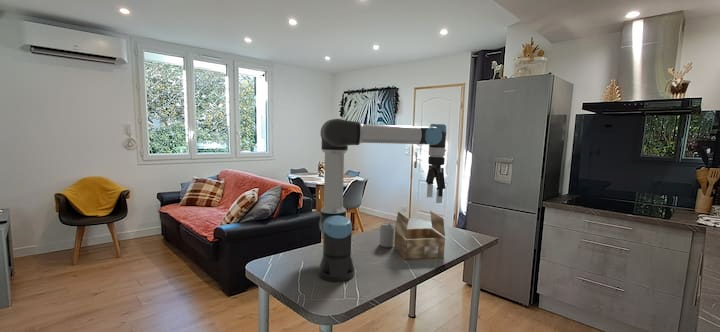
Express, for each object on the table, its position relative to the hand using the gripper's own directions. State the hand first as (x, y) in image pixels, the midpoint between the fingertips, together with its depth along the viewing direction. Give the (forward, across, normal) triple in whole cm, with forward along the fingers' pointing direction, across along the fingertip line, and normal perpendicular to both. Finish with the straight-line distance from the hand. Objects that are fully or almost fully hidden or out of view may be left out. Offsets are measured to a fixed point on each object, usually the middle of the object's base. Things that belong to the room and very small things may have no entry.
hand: (434, 200), depth 155 cm
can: (+28, +15, +19) cm, 37 cm away
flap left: (+13, +3, +15) cm, 20 cm away
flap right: (+13, +5, -4) cm, 14 cm away
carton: (+28, +4, +5) cm, 29 cm away
